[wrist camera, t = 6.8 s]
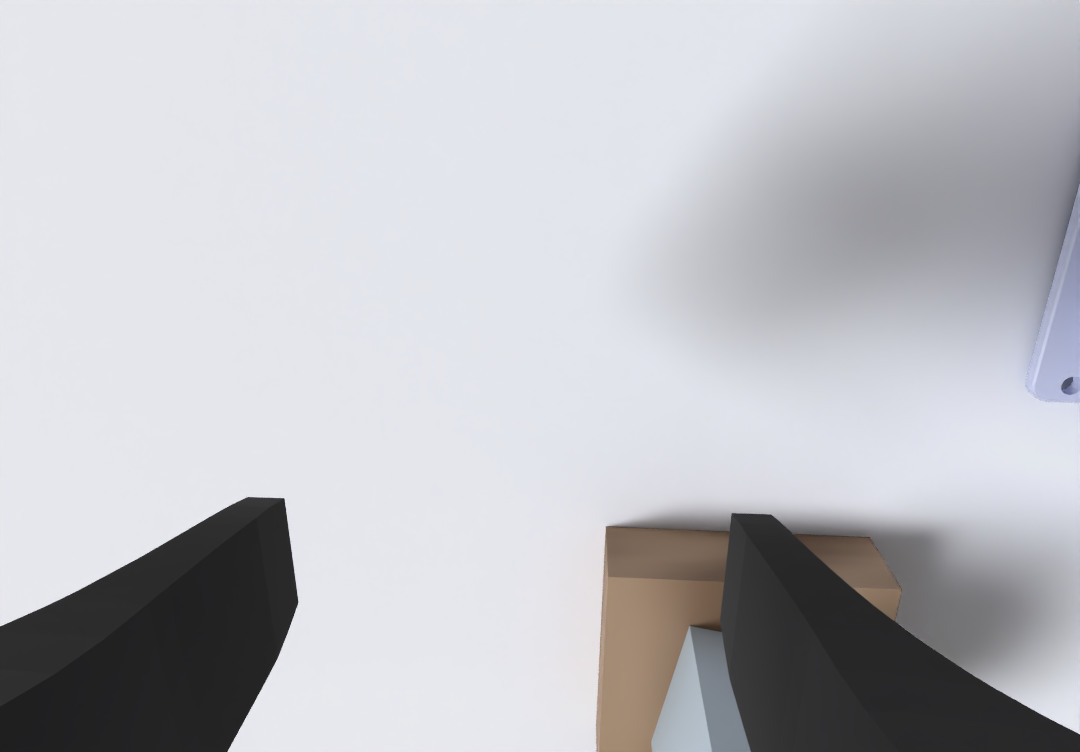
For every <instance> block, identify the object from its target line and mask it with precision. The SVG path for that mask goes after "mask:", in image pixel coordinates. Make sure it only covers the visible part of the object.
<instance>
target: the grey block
mask: <svg viewBox="0 0 1080 752" xmlns="http://www.w3.org/2000/svg"><path fill="white" fill-rule="evenodd" d="M651 745H652V752H751V751H750V747H749V744H748V741H747V737H746V734H745V730H744V727H743V724H742V720H741V717H740V713H739V710H738V706H737V703H736V700H735V696H734V693H733V689H732V686H731V682H730V678H729V673H728V667H727V661H726V655H725V649H724V643H723V636H722V632H718V631H713V630H708V629H703V628H698V627H693V626H689V629H688V632H687V635H686V638H685V641H684V644H683V647H682V650H681V653H680V656H679V659H678V662H677V665H676V668H675V671H674V674H673V677H672V680H671V683H670V686H669V689H668V692H667V695H666V698H665V701H664V704H663V707H662V710H661V713H660V716H659V719H658V722H657V725H656V729H655V732H654V735H653V738H652V741H651Z"/></svg>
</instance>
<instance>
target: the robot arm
mask: <svg viewBox="0 0 1080 752" xmlns="http://www.w3.org/2000/svg"><path fill="white" fill-rule="evenodd" d="M1069 377H1073V382H1072V383H1071V385H1070V386H1069V387H1067V388H1066V389H1061V385H1062V383H1063V382H1064V380H1066V379H1067V378H1069ZM1026 388H1027V390H1028V392H1029V393H1031V394H1032V395H1033V396H1035V397H1036V398H1037V399H1039V400H1042V401H1046V402H1070V403H1080V184H1079V188H1078V191H1077V195H1076V199H1075V202H1074V206H1073V210H1072V213H1071V217H1070V221H1069V224H1068V228H1067V232H1066V235H1065V239H1064V243H1063V246H1062V250H1061V254H1060V257H1059V261H1058V265H1057V268H1056V272H1055V276H1054V279H1053V283H1052V287H1051V290H1050V294H1049V298H1048V301H1047V305H1046V309H1045V312H1044V316H1043V320H1042V323H1041V327H1040V331H1039V334H1038V338H1037V342H1036V345H1035V349H1034V353H1033V356H1032V360H1031V364H1030V367H1029V371H1028V375H1027V378H1026ZM297 605H298V596H297V589H296V581H295V574H294V567H293V559H292V552H291V544H290V537H289V530H288V522H287V515H286V507H285V500H284V498H256V497H247V498H245V499H243V500H241V501H239V502H236V503H235V504H233V505H231V506H229V507H227V508H225V509H223V510H221V511H220V512H218V513H216V514H214V515H213V516H211V517H209V518H207V519H206V520H204V521H202V522H200V523H199V524H197V525H195V526H194V527H192V528H190V529H189V530H187V531H185V532H183V533H182V534H180V535H178V536H177V537H175V538H173V539H171V540H170V541H168V542H166V543H164V544H163V545H161V546H159V547H158V548H156V549H154V550H152V551H151V552H149V553H147V554H145V555H144V556H142V557H140V558H138V559H137V560H135V561H133V562H131V563H129V564H127V565H125V566H123V567H122V568H120V569H118V570H116V571H114V572H112V573H110V574H109V575H107V576H105V577H103V578H101V579H99V580H97V581H95V582H94V583H92V584H90V585H88V586H86V587H84V588H82V589H80V590H79V591H77V592H75V593H73V594H71V595H68V596H66V597H64V598H62V599H60V600H58V601H56V602H54V603H52V604H50V605H48V606H46V607H43V608H41V609H39V610H37V611H34V612H32V613H30V614H28V615H25V616H23V617H21V618H19V619H16V620H14V621H12V622H10V623H7V624H5V625H3V626H0V752H227V751H228V749H229V748H230V746H231V744H232V742H233V740H234V738H235V737H236V735H237V733H238V731H239V729H240V727H241V726H242V724H243V722H244V720H245V718H246V716H247V715H248V713H249V711H250V709H251V707H252V705H253V704H254V702H255V700H256V698H257V696H258V694H259V692H260V691H261V689H262V687H263V685H264V683H265V681H266V679H267V677H268V676H269V674H270V672H271V670H272V668H273V666H274V664H275V662H276V660H277V658H278V656H279V653H280V651H281V648H282V646H283V643H284V641H285V638H286V636H287V633H288V630H289V627H290V625H291V622H292V619H293V616H294V613H295V611H296V608H297ZM720 623H721V629H722V636H723V643H724V649H725V655H726V661H727V667H728V673H729V678H730V682H731V686H732V689H733V693H734V696H735V700H736V703H737V706H738V710H739V713H740V717H741V720H742V724H743V727H744V730H745V734H746V737H747V741H748V744H749V747H750V751H751V752H1080V734H1078V733H1076V732H1074V731H1072V730H1070V729H1068V728H1066V727H1064V726H1062V725H1060V724H1058V723H1056V722H1054V721H1052V720H1050V719H1049V718H1047V717H1045V716H1043V715H1041V714H1039V713H1037V712H1036V711H1034V710H1032V709H1030V708H1028V707H1027V706H1025V705H1023V704H1021V703H1020V702H1018V701H1016V700H1014V699H1012V698H1011V697H1009V696H1007V695H1005V694H1004V693H1002V692H1000V691H998V690H996V689H995V688H993V687H991V686H990V685H988V684H986V683H985V682H983V681H981V680H980V679H978V678H976V677H975V676H973V675H971V674H970V673H968V672H967V671H965V670H964V669H962V668H961V667H959V666H957V665H956V664H954V663H953V662H951V661H950V660H948V659H947V658H945V657H944V656H942V655H941V654H939V653H938V652H936V651H935V650H933V649H932V648H930V647H929V646H927V645H926V644H924V643H923V642H922V641H920V640H919V639H917V638H916V637H915V636H913V635H912V634H910V633H909V632H908V631H906V630H905V629H904V628H902V627H901V626H900V625H898V624H897V623H896V622H895V621H893V620H892V619H891V618H889V617H888V616H887V615H885V614H884V613H883V612H882V611H880V610H879V609H878V608H876V607H875V606H874V605H873V604H871V603H870V602H869V601H868V600H867V599H865V598H864V597H863V596H862V595H860V594H859V593H858V592H857V591H856V590H854V589H853V588H852V587H851V586H850V585H849V584H847V583H846V582H845V581H844V580H843V579H842V578H841V577H839V576H838V575H837V574H836V573H835V572H834V571H833V570H831V569H830V568H829V567H828V566H827V565H826V564H825V563H824V562H823V561H821V560H820V559H819V558H818V557H817V556H816V555H815V554H814V553H813V552H812V551H811V550H809V549H808V548H807V547H806V546H805V545H804V544H803V543H802V542H801V541H800V540H799V539H798V538H797V537H795V536H794V535H793V534H792V533H791V532H790V531H789V530H788V529H787V528H786V527H785V526H784V525H782V524H781V523H780V522H779V521H778V520H777V519H776V518H774V517H773V516H772V515H766V514H736V513H732V517H731V526H730V535H729V544H728V552H727V561H726V570H725V579H724V588H723V597H722V606H721V615H720Z"/></svg>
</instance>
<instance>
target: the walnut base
mask: <svg viewBox="0 0 1080 752" xmlns="http://www.w3.org/2000/svg"><path fill="white" fill-rule="evenodd" d="M729 535H730V532H725V531H701V530H676V529H652V528H627V527H606V535H605V555H604V576H603V596H602V617H601V637H600V657H599V678H598V698H597V719H596V743H597V752H652V745H651V741H652V738H653V735H654V732H655V729H656V725H657V722H658V719H659V716H660V713H661V710H662V707H663V704H664V701H665V698H666V695H667V692H668V689H669V686H670V683H671V680H672V677H673V674H674V671H675V668H676V665H677V662H678V659H679V656H680V653H681V650H682V647H683V644H684V641H685V638H686V635H687V632H688V629H689V626H693V627H698V628H703V629H708V630H713V631H718V632H722V629H721V623H720V615H721V606H722V597H723V588H724V579H725V570H726V561H727V552H728V544H729ZM793 535H794V536H795V537H797V538H798V539H799V540H800V541H801V542H802V543H803V544H804V545H805V546H806V547H807V548H808V549H809V550H811V551H812V552H813V553H814V554H815V555H816V556H817V557H818V558H819V559H820V560H821V561H823V562H824V563H825V564H826V565H827V566H828V567H829V568H830V569H831V570H833V571H834V572H835V573H836V574H837V575H838V576H839V577H841V578H842V579H843V580H844V581H845V582H846V583H847V584H849V585H850V586H851V587H852V588H853V589H854V590H856V591H857V592H858V593H859V594H860V595H862V596H863V597H864V598H865V599H867V600H868V601H869V602H870V603H871V604H873V605H874V606H875V607H876V608H878V609H879V610H880V611H882V612H883V613H884V614H885V615H887V616H888V617H889V618H891V619H892V620H893V621H895V619H896V614H897V610H898V605H899V601H900V596H901V592H902V589H901V587H900V586H899V584H898V583H897V581H896V579H895V578H894V576H893V574H892V573H891V571H890V570H889V568H888V566H887V565H886V563H885V561H884V560H883V558H882V557H881V555H880V553H879V552H878V550H877V549H876V547H875V545H874V544H873V542H872V540H871V539H870V537H847V536H823V535H798V534H793Z"/></svg>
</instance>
